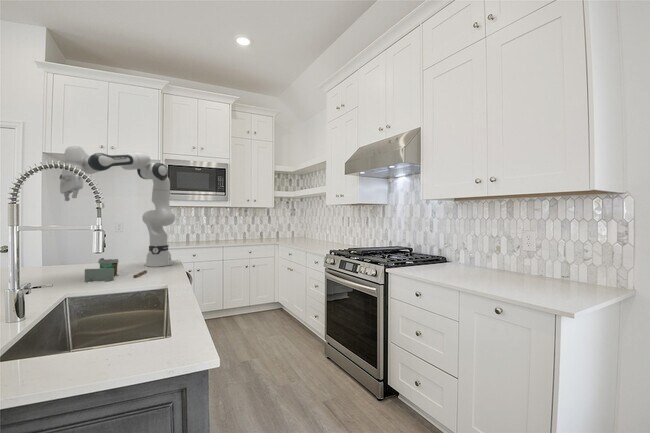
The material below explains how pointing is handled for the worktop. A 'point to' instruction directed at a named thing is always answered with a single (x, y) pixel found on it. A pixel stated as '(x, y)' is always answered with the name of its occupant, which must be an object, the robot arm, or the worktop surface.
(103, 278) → the screen
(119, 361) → the worktop surface
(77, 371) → the worktop surface
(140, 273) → the rail
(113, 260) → the food container
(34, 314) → the worktop surface
